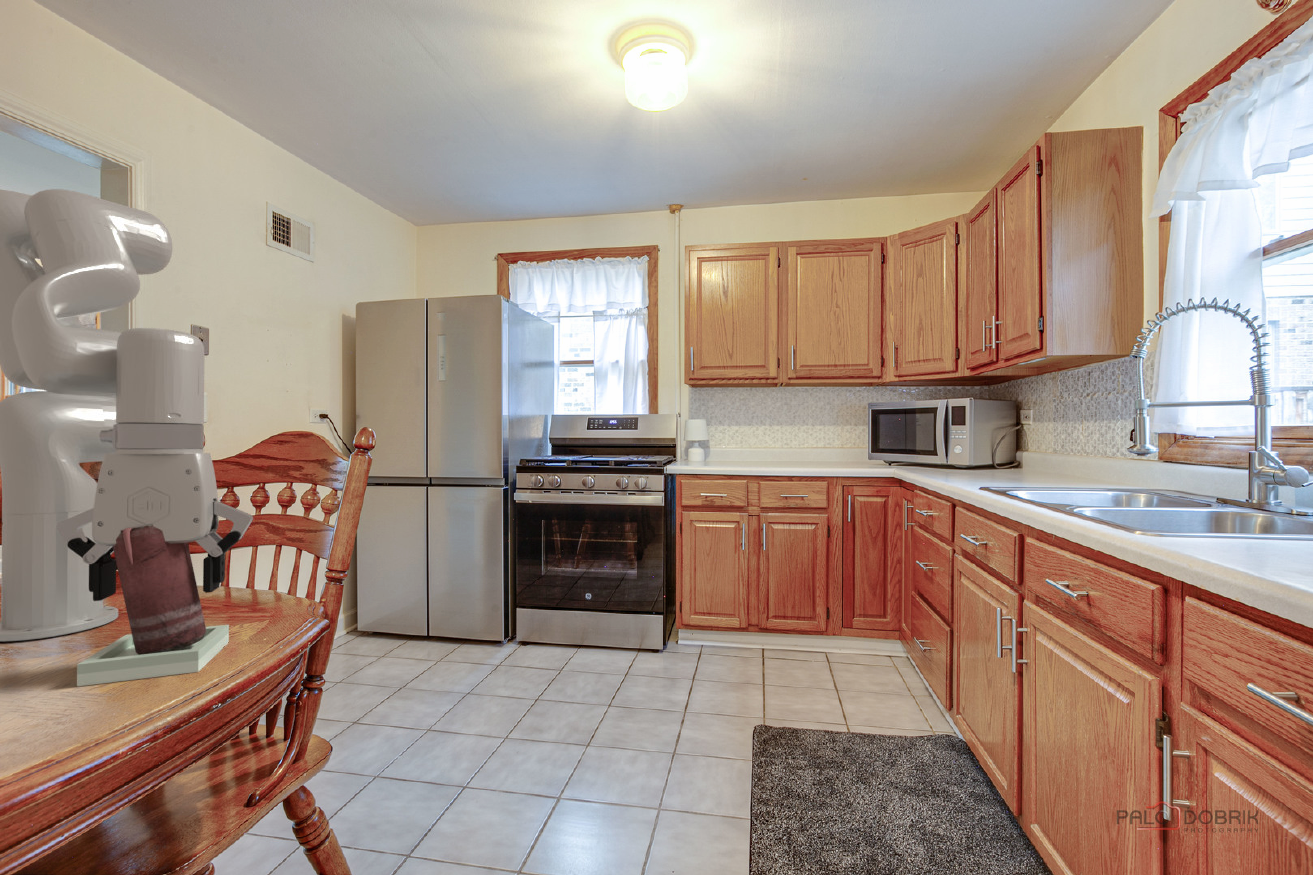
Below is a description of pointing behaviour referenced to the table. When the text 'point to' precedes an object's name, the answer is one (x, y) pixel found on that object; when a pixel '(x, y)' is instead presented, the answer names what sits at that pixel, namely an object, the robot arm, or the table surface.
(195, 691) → the table surface
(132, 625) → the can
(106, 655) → the plate
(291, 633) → the table surface
